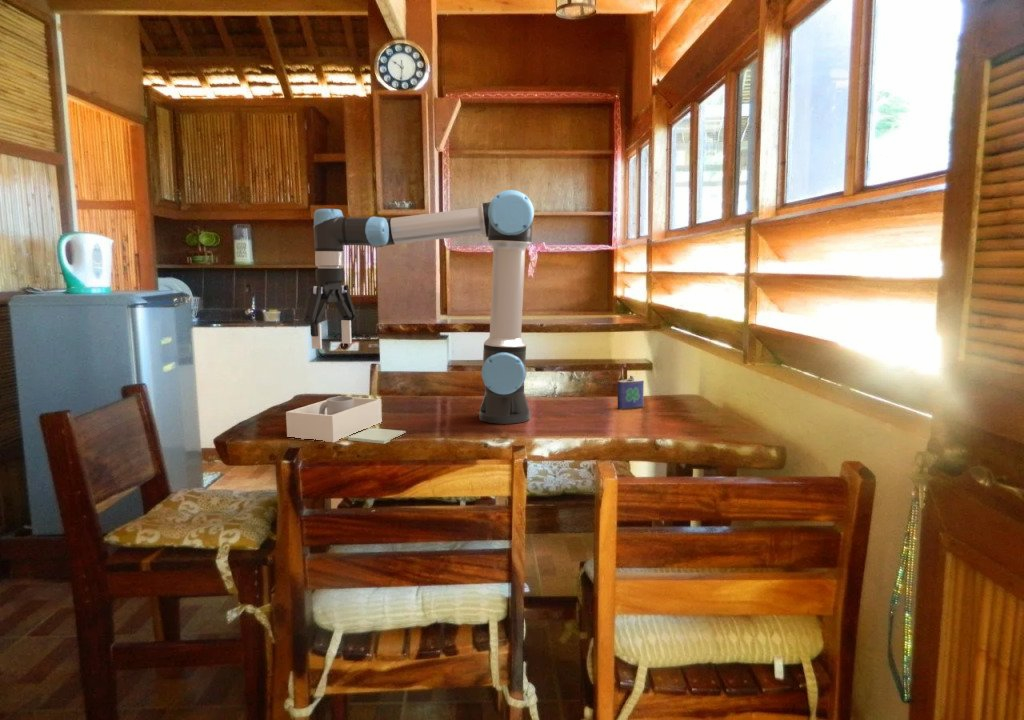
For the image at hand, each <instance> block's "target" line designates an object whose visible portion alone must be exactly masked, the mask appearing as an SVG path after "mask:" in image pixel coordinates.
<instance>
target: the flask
mask: <svg viewBox="0 0 1024 720" xmlns="http://www.w3.org/2000/svg"><path fill="white" fill-rule="evenodd" d="M635 377H636V376H634V375H633V374H631V375H629V377H628V378H626V379H621V380H618V381H617V410H618V411H619V410H620V411H625V410H634V409H635V410H636V409H637V410H638V409H642V408H644V394H645V393H644V392H645V390H644V380H643V379H635Z"/></svg>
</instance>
